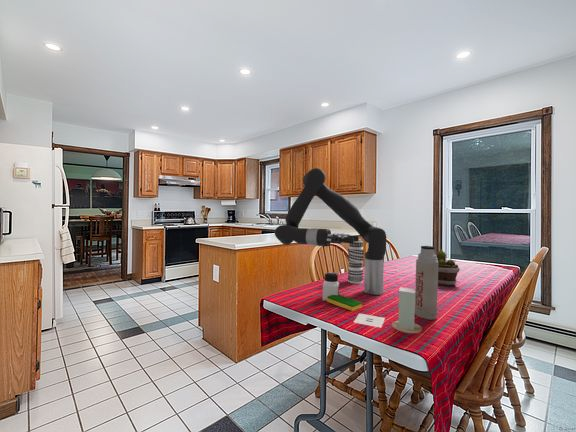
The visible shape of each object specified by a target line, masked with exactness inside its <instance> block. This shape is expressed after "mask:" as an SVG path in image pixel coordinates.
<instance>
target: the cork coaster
mask: <svg viewBox="0 0 576 432" xmlns="http://www.w3.org/2000/svg"><path fill="white" fill-rule="evenodd" d="M391 327H392V328H393V329H395V330H396V331H399V332H402V333H405V334H419V333H421V332H422V330H423V328H422V326H421V325H419V324H417V323H415V322H414V330H410V329H405V328H399V327H398V320H395V321H392V322H391Z"/></svg>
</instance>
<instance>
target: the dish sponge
mask: <svg viewBox="0 0 576 432" xmlns="http://www.w3.org/2000/svg"><path fill="white" fill-rule="evenodd" d="M326 302H327V303H330V304H332V305H335V306H337V307H339V308H340V307H341V308H343V309H345V310H349V311H353V312H354V311H356V310H359V309H360V308H362V307H363V304H362V303H363V302H362V301H360V300H357V299H353V298H351V297H348V296H344V295H341V294H338V295H331V296H328V297H327V301H326Z"/></svg>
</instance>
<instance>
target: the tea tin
mask: <svg viewBox="0 0 576 432" xmlns="http://www.w3.org/2000/svg"><path fill="white" fill-rule="evenodd" d="M415 292H416V288H410V287H408V288H407V287H402V286H400V287H399V290H398V320H397V321H398V327H399V328H405V329H410V330H414V323H415V316H416V315H415Z"/></svg>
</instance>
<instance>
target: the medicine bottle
mask: <svg viewBox="0 0 576 432" xmlns="http://www.w3.org/2000/svg"><path fill="white" fill-rule="evenodd" d="M338 278H339V275H338V274H337V273H336V272H326V273H324V281H323V284H322V301H326V302H327V297H328V296H331V295H338V294H339V292H340V291H339V290H340V289H339V288H340V282H338V281H339V279H338ZM339 295H340V294H339Z"/></svg>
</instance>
